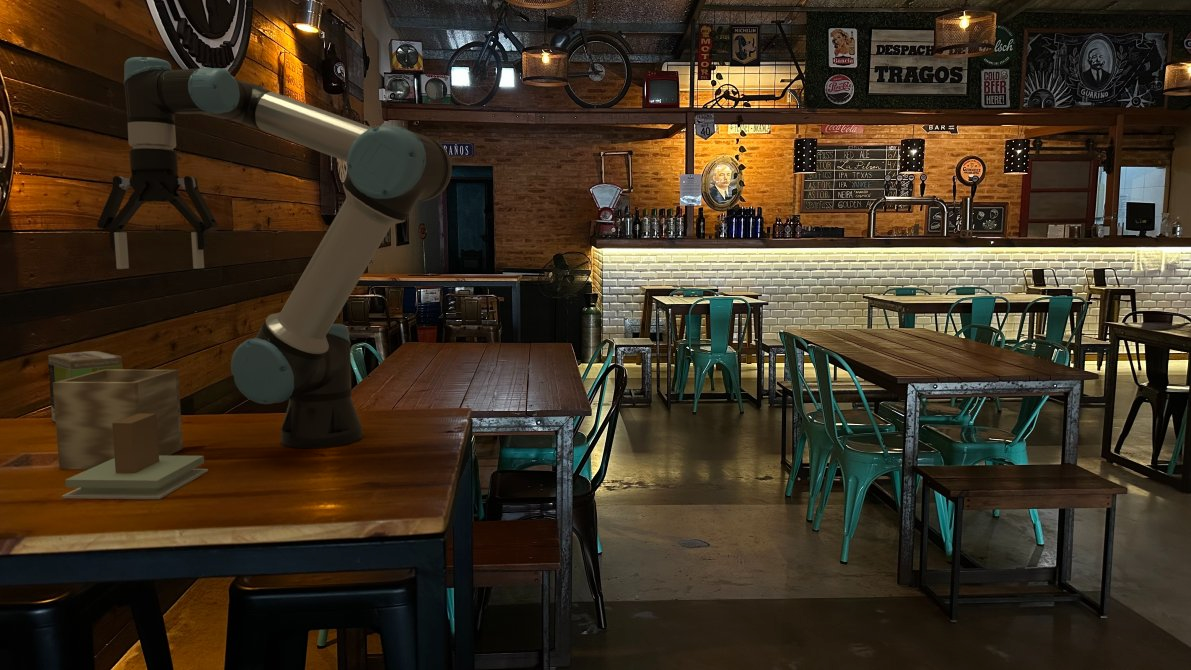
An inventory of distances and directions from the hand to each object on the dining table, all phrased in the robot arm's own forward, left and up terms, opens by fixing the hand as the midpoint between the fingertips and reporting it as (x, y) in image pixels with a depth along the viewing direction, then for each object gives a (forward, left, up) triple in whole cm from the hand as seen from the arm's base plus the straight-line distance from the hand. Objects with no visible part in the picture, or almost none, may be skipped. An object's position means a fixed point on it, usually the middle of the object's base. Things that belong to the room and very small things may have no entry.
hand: (160, 268), depth 149 cm
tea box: (+30, -22, -34) cm, 50 cm away
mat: (-6, +21, -34) cm, 40 cm away
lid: (-6, +21, -33) cm, 40 cm away
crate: (+6, +6, -34) cm, 35 cm away
